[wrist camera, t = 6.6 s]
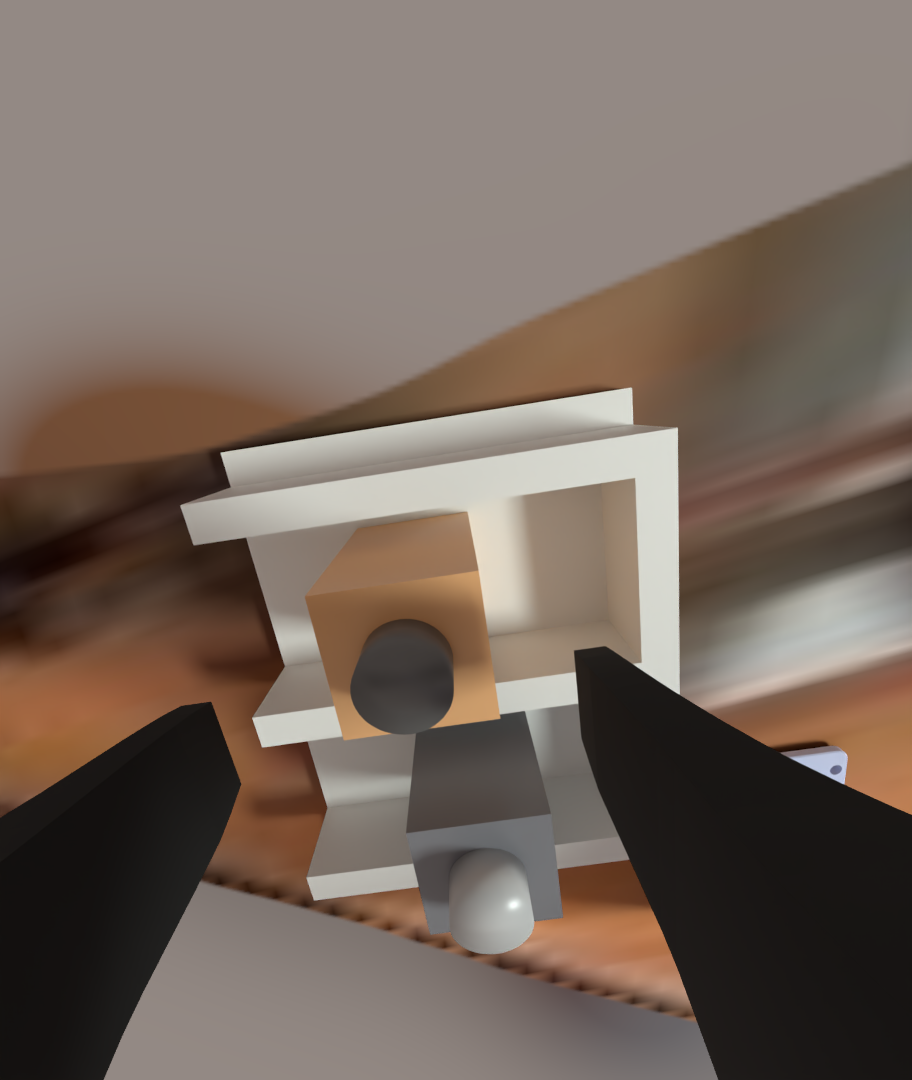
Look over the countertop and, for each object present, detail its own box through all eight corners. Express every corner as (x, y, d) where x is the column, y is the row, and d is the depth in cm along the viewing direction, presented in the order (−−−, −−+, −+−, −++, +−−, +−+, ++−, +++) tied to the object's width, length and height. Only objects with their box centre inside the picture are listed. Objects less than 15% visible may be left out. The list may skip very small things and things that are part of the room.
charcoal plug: (527, 762, 19) (574, 967, 12) (435, 774, 19) (428, 985, 12) (517, 682, 18) (562, 857, 11) (419, 696, 18) (401, 878, 11)
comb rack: (639, 792, 20) (680, 876, 17) (344, 832, 21) (321, 922, 17) (622, 388, 15) (677, 381, 12) (231, 450, 16) (165, 462, 12)
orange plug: (482, 612, 17) (506, 754, 10) (379, 627, 17) (331, 778, 10) (467, 511, 16) (482, 591, 9) (357, 528, 16) (285, 621, 9)
